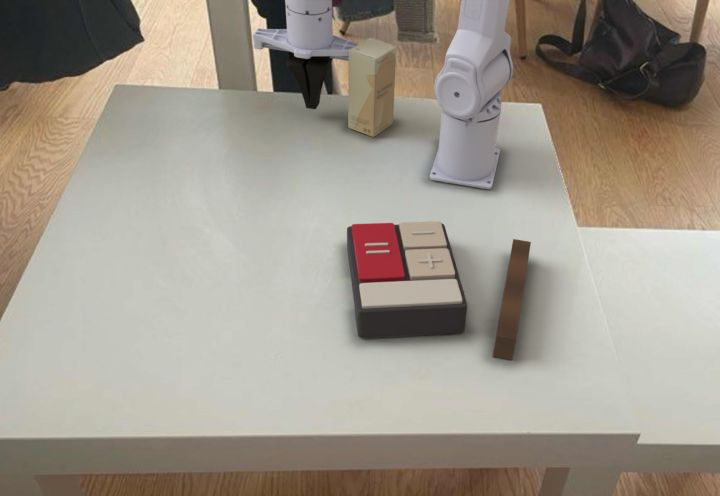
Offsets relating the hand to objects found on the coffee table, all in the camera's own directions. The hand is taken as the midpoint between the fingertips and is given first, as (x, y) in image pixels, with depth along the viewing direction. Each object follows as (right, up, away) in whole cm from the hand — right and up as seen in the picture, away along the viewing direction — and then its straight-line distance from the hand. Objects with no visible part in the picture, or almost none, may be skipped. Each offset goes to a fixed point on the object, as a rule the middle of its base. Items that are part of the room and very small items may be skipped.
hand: (312, 105), depth 111 cm
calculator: (+14, -27, -23) cm, 37 cm away
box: (+8, -3, +1) cm, 8 cm away
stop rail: (+25, -28, -23) cm, 45 cm away
